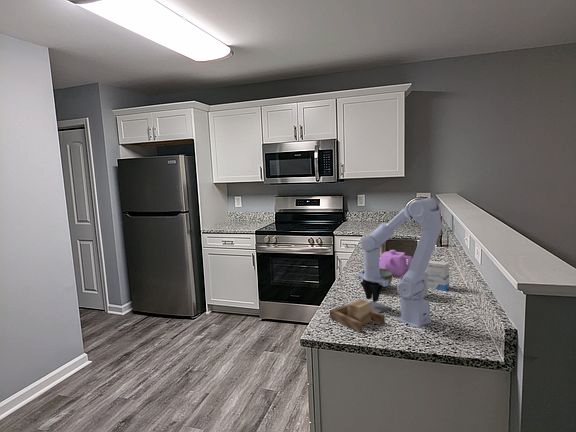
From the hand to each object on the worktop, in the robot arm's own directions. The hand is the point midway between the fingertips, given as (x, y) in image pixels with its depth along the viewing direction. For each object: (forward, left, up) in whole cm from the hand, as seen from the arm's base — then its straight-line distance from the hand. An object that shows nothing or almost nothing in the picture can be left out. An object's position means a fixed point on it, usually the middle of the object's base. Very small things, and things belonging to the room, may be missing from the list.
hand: (372, 300), depth 140 cm
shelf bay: (-5, +13, -3) cm, 14 cm away
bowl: (+15, -19, -4) cm, 24 cm away
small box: (-2, -25, -4) cm, 25 cm away
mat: (0, 0, -3) cm, 3 cm away
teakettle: (+29, -44, -4) cm, 53 cm away
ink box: (-1, -40, -4) cm, 40 cm away
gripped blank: (-6, +13, -3) cm, 15 cm away
